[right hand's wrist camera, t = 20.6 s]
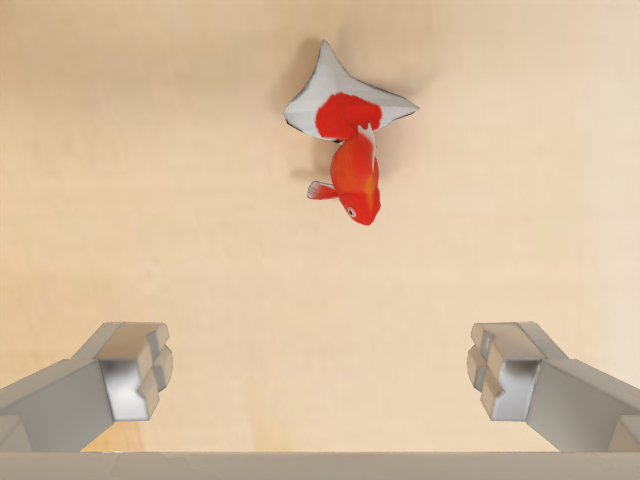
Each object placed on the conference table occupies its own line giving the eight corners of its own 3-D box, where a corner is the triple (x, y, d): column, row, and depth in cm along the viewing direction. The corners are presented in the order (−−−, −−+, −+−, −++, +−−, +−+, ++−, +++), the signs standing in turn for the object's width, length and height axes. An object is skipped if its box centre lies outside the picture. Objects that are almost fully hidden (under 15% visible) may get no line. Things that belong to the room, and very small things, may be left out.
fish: (265, 224, 37) (299, 210, 28) (272, 63, 38) (307, -2, 29) (367, 231, 41) (427, 221, 32) (371, 85, 42) (429, 34, 33)
